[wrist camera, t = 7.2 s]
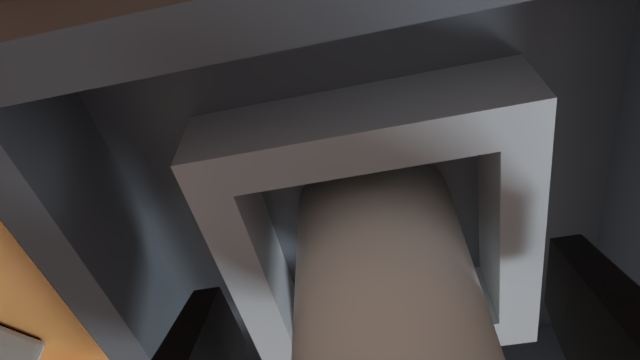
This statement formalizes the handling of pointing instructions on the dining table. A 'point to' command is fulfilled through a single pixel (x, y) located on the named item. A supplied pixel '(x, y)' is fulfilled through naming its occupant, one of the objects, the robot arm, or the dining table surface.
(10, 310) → the dining table surface
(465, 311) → the bottle
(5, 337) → the small box
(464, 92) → the walled box
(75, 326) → the dining table surface
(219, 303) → the robot arm
